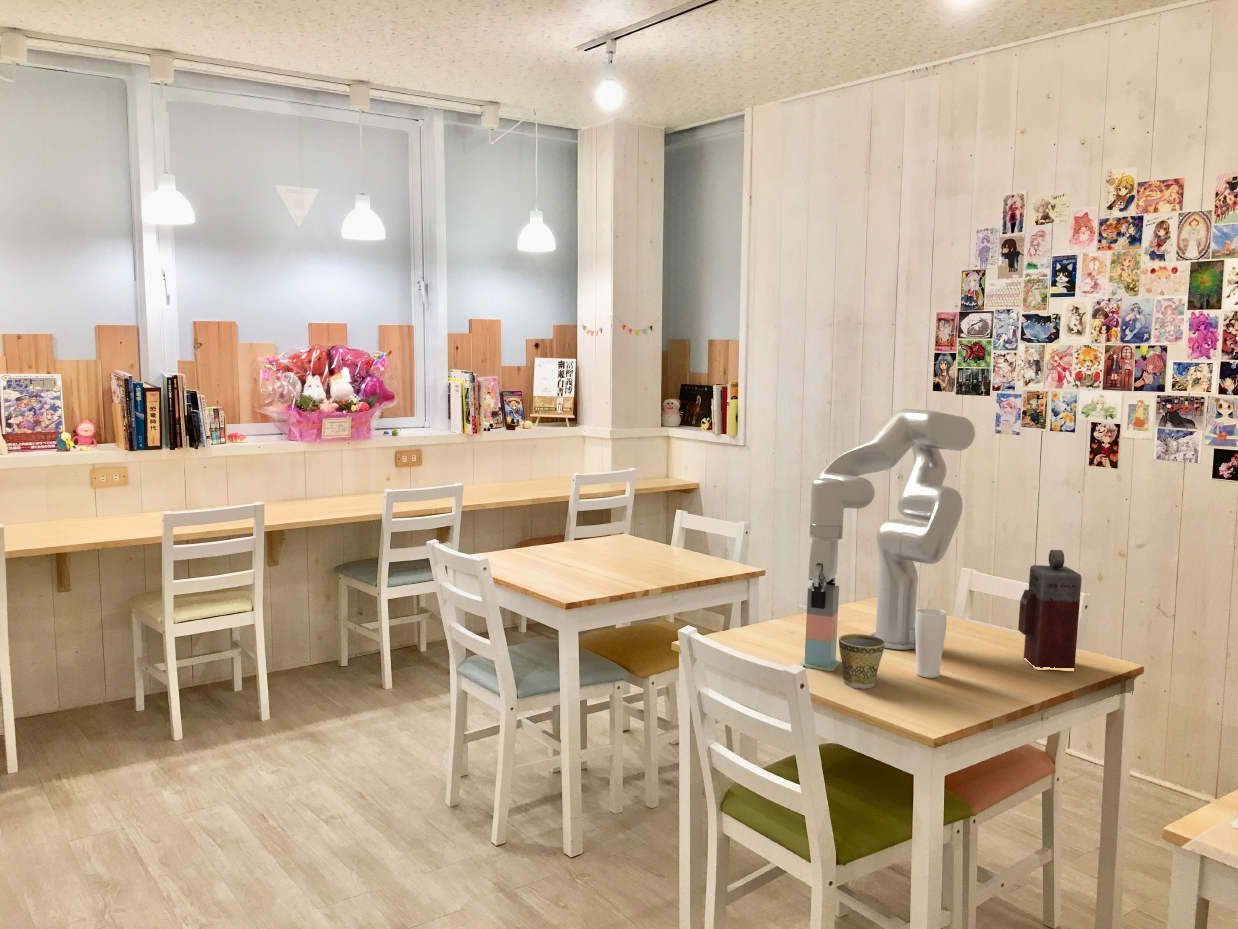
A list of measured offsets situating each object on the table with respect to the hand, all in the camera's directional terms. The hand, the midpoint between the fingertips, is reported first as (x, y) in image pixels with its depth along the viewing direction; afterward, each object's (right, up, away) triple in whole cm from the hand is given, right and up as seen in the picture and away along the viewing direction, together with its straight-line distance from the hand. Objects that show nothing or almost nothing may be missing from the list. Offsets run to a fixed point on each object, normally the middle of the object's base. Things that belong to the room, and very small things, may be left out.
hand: (822, 603), depth 233 cm
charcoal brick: (0, -2, 0) cm, 2 cm away
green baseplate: (0, -15, +2) cm, 15 cm away
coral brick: (0, -8, +1) cm, 8 cm away
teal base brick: (0, -14, +2) cm, 14 cm away
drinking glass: (+23, -16, -4) cm, 29 cm away
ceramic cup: (+6, -17, -10) cm, 20 cm away
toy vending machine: (+54, -16, +5) cm, 56 cm away
